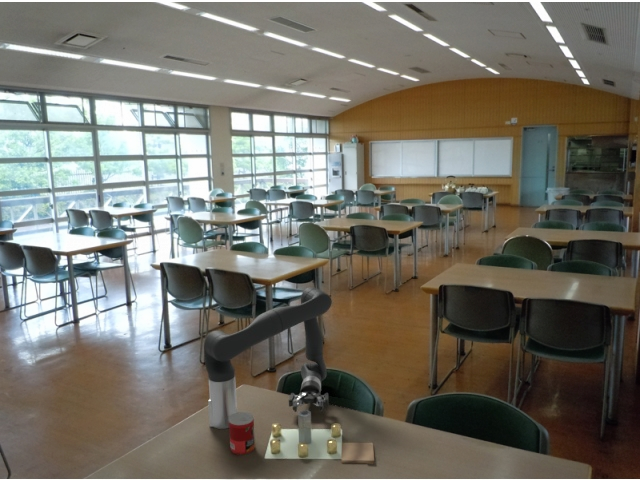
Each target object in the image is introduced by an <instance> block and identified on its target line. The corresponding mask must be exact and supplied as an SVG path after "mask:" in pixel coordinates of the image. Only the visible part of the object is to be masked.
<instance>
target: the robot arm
mask: <svg viewBox="0 0 640 480" xmlns="http://www.w3.org/2000/svg"><path fill="white" fill-rule="evenodd" d="M332 301H333V300H332V297H331V296H330V295H329V294H328V293H326V292H324V291H323V290H321V289H320V288H317V287H314V286H309V287H306V288H305V289H304V290H303V291H302V293H301V296H300V303H299V304H297V305H289V306H288V305H287V306H277V307H275V308H271V309H269V310H267V311H265V312H262V313H261V314H259V315H258V316H256V318H254V319H253V321H251V323H250V324H249V325H248V326H246V327H245V328H244V329H241V330H239V331H237V332H234V333H231V334H228V333H226V332H224V331H222V330H214V331H213V330H212V331H211V332H209V333H208V334H207V336H206V337H205V340H204V343H203V354H204V365H205V370H206V372H207V375H208V378H207V379H208V390H209V399H208V401H207V403H208V419H209V420H208V421H209V427H212V428H215V429H220V430H224V429H229V417H230V416H231V415H232V414H234V413H237V412H238V406H237V404H238V403H237V402H238V401H237V388H236V387H237V386H236V370H235V367H234V365H233V363H232V361H231V360H233V359H234V358H236V357H238V356H239V355H241V354H242V353H243V352H245V351H247V350H249V349H250V348H251V347H254V346H256V345H258V344H260V343H263V342H264V341H266V340H268V339H271V338H273V337H275V336H277V335H278V334H281V333H283V332H284V331H287V330H288V329H290V328H292V327H295V326H298V325H299V324H302V323H303V326H304V333H305V335H304V336H305V358H306V359H307V360H308V361H311V362H305V363H303V364H302V365H301V367H300V375H301V379H302V383H301V386H300V391H299V394H295V393H294V392H291V393H290V395H289V398H288V407H292V411H294V412H295V413H296V412H297V410H298V407H302V406H303V405H315V407H318V412H319V413H321V412H322V411H324V407H327V408H328V407H330V406H329V393H328V392H326V393H324V394H321V393H322V392H321V391H322V381H324V380H325V379H326V377H327V375H328V372H327V366H326V363H325V360H324V353H323V352H324V340H323V335H322V331H321V328H320V326H319V325H320V324H319V322H318V317H320V316H322V315H324V314H325V313H327V312H328V311H329V310H330V309H331V307H332ZM297 413H298V412H297Z"/></svg>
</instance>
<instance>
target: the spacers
mask: <svg viewBox="0 0 640 480" xmlns="http://www.w3.org/2000/svg"><path fill="white" fill-rule="evenodd" d="M341 427H342V426H341V424H340V423H335V422H334V423H332V424H330V429H331V436H332V437H333V438H338V437H340V436H341V429H342V428H341ZM281 429H282V424H281V423H280V422H279V423H278V422H275V423H271V433H272V436H273V437H275V438H277V437H280V436H281V435H282V434H281ZM270 449H271V453H272V454H279V453H280V452H281V447H280V440H279V439H272V440H271V441H270ZM327 453H328V454H331V455H333V454H336V453H337V440H335V439H329V440H327ZM298 456H299V457H300V458H306V457H308V443H306V442H300V443H299V444H298Z"/></svg>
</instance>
